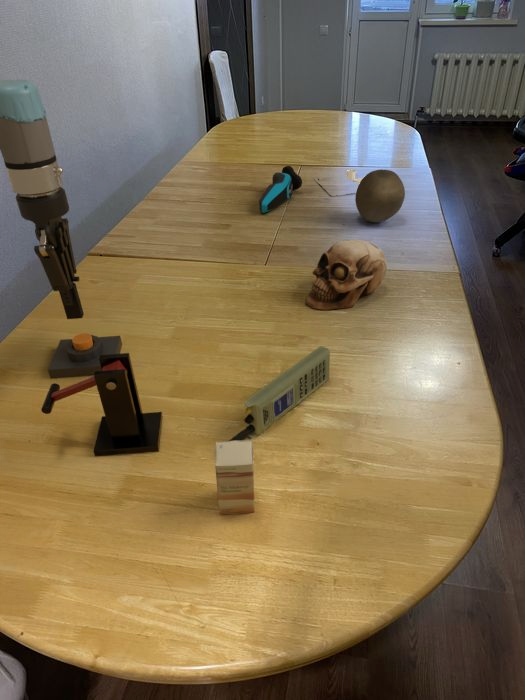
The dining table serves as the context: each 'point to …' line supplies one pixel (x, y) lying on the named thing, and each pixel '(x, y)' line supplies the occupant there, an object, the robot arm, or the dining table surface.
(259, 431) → the handheld radio
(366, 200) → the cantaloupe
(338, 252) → the tan skull
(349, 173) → the teacup and saucer
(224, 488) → the small printed carton
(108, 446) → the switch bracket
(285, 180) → the electric shaver
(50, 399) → the switch lever
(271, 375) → the dining table surface
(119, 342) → the control block
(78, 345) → the button
